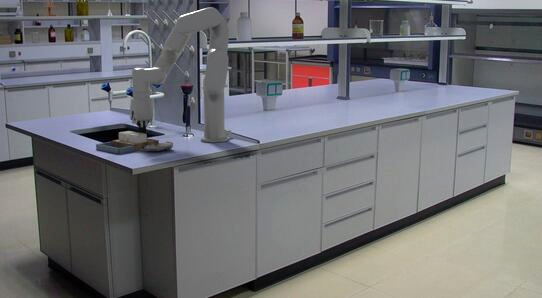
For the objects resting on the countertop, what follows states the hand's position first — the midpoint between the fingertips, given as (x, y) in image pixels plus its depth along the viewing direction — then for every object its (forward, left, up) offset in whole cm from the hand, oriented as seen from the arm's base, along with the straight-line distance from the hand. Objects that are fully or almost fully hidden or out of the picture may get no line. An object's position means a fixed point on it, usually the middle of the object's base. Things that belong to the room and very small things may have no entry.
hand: (142, 135), depth 270 cm
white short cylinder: (+8, 0, -1) cm, 8 cm away
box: (+18, +4, -4) cm, 19 cm away
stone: (+4, +23, -5) cm, 24 cm away
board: (+7, +4, -4) cm, 9 cm away
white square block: (+8, +7, -1) cm, 11 cm away
